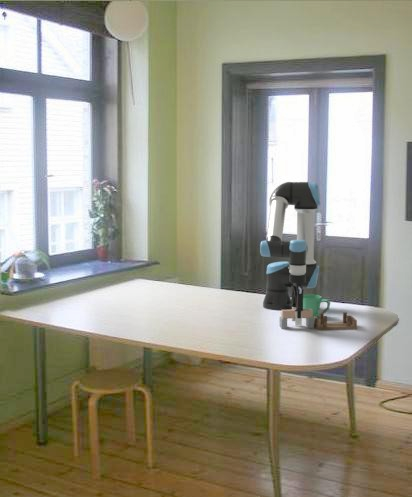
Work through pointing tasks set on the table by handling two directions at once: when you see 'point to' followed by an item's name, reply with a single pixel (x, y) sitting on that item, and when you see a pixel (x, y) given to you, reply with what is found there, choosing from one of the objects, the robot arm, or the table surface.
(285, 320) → the grey blocks
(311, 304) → the mug
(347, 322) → the rack
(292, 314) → the clay strip
